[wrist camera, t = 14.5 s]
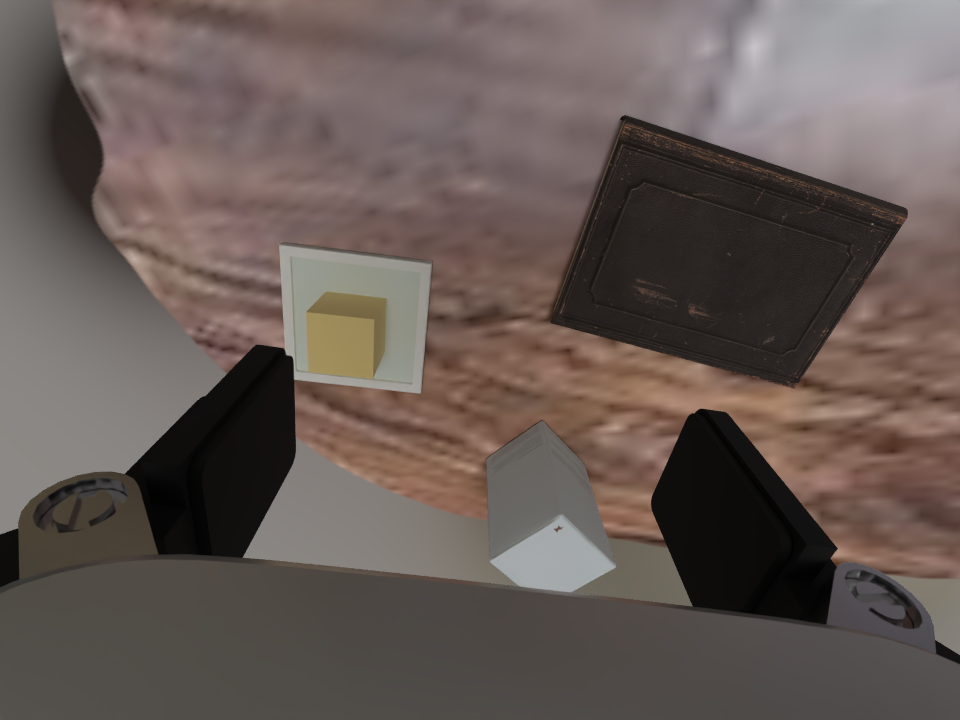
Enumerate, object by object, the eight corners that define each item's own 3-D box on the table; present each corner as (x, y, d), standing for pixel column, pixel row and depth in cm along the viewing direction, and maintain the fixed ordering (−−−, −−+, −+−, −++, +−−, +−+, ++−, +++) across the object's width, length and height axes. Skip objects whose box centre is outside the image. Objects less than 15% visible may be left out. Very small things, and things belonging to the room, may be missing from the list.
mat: (283, 242, 38) (279, 245, 37) (432, 261, 38) (431, 264, 38) (290, 373, 43) (286, 378, 42) (421, 388, 44) (420, 393, 43)
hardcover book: (780, 376, 44) (795, 389, 42) (547, 313, 41) (550, 323, 39) (889, 204, 37) (913, 208, 35) (619, 115, 34) (628, 114, 32)
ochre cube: (326, 291, 39) (305, 311, 34) (386, 298, 39) (374, 319, 35) (327, 345, 41) (308, 372, 37) (384, 352, 41) (372, 378, 37)
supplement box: (483, 457, 47) (484, 560, 36) (542, 417, 45) (564, 513, 34) (528, 501, 50) (542, 610, 38) (586, 465, 48) (620, 569, 36)
